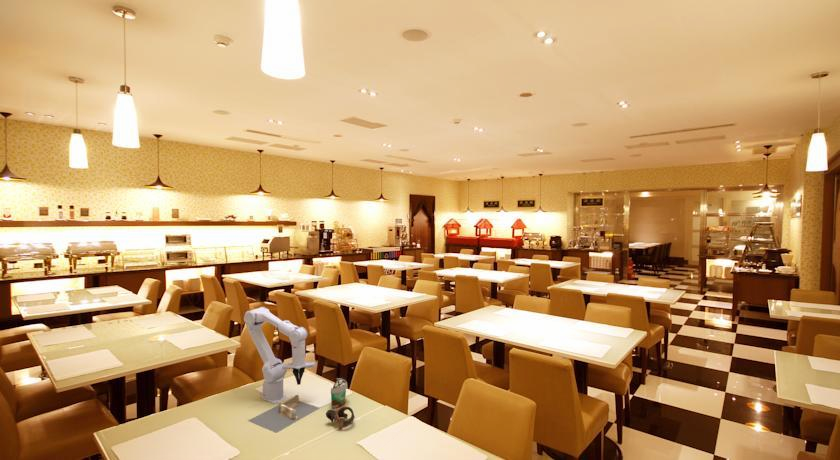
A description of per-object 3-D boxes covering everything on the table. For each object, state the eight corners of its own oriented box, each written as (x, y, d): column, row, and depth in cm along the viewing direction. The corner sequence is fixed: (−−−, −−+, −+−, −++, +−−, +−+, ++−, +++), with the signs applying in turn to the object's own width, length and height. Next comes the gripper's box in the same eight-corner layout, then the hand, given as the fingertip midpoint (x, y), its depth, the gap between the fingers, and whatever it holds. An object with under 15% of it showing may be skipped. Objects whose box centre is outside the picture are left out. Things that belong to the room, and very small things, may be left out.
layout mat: (247, 421, 170) (247, 420, 170) (292, 398, 190) (292, 398, 190) (276, 433, 161) (276, 432, 161) (320, 408, 181) (320, 407, 181)
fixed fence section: (278, 412, 177) (277, 403, 177) (297, 402, 186) (297, 394, 186) (280, 413, 176) (280, 404, 176) (299, 403, 185) (299, 395, 185)
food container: (344, 411, 179) (344, 389, 179) (330, 410, 179) (330, 388, 179) (349, 398, 191) (349, 377, 191) (337, 398, 192) (336, 377, 191)
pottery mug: (353, 417, 175) (357, 405, 171) (349, 438, 166) (353, 426, 162) (326, 411, 173) (329, 399, 169) (320, 432, 165) (323, 419, 161)
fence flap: (280, 413, 176) (279, 405, 176) (283, 411, 177) (283, 403, 177) (293, 419, 170) (293, 411, 170) (296, 418, 172) (296, 410, 172)
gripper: (281, 359, 179) (281, 388, 180) (314, 356, 182) (314, 386, 183) (282, 353, 186) (283, 382, 187) (315, 351, 189) (315, 379, 190)
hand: (298, 383), depth 185 cm, fingers closed
